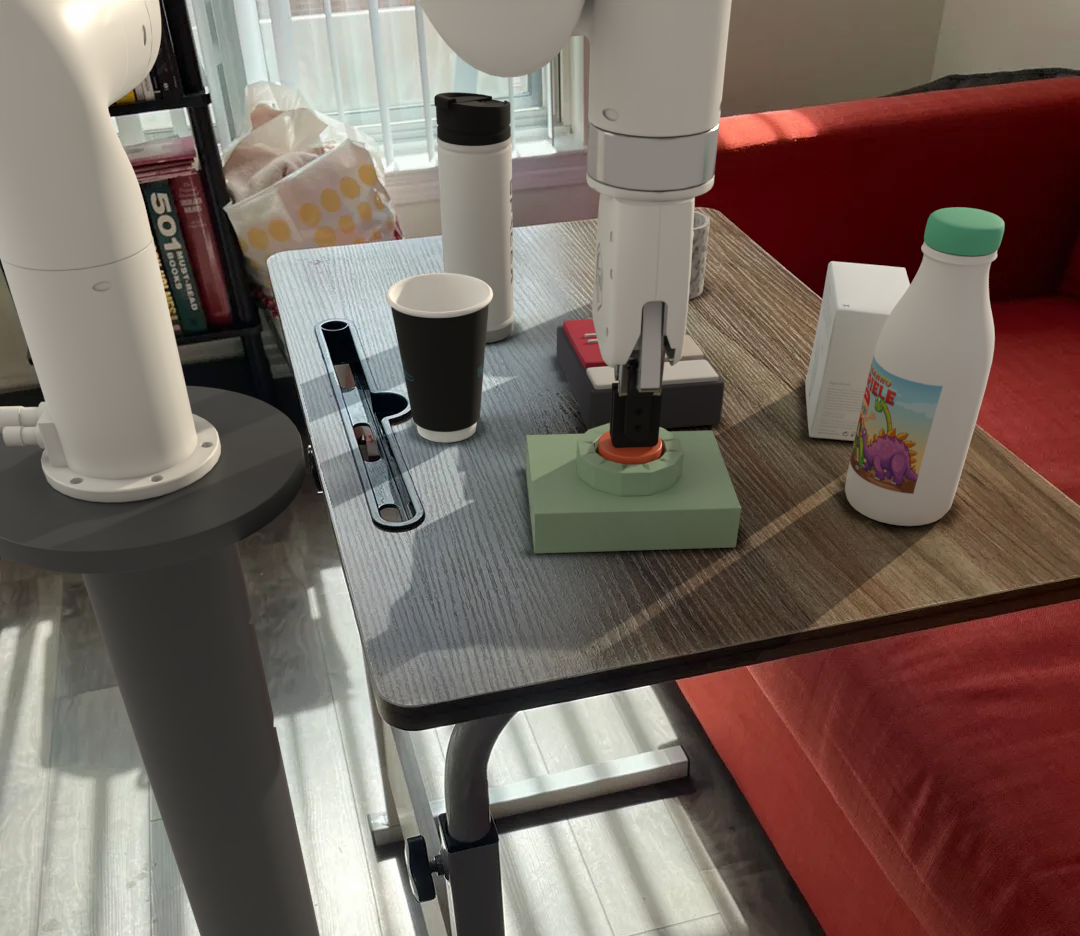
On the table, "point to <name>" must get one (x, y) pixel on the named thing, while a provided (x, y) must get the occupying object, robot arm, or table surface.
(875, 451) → the milk bottle
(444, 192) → the travel mug
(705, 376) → the calculator
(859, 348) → the cosmetics box
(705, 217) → the mug
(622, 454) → the push button
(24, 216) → the robot arm
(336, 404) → the table surface
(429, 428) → the dixie cup
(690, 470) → the button housing
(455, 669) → the table surface
